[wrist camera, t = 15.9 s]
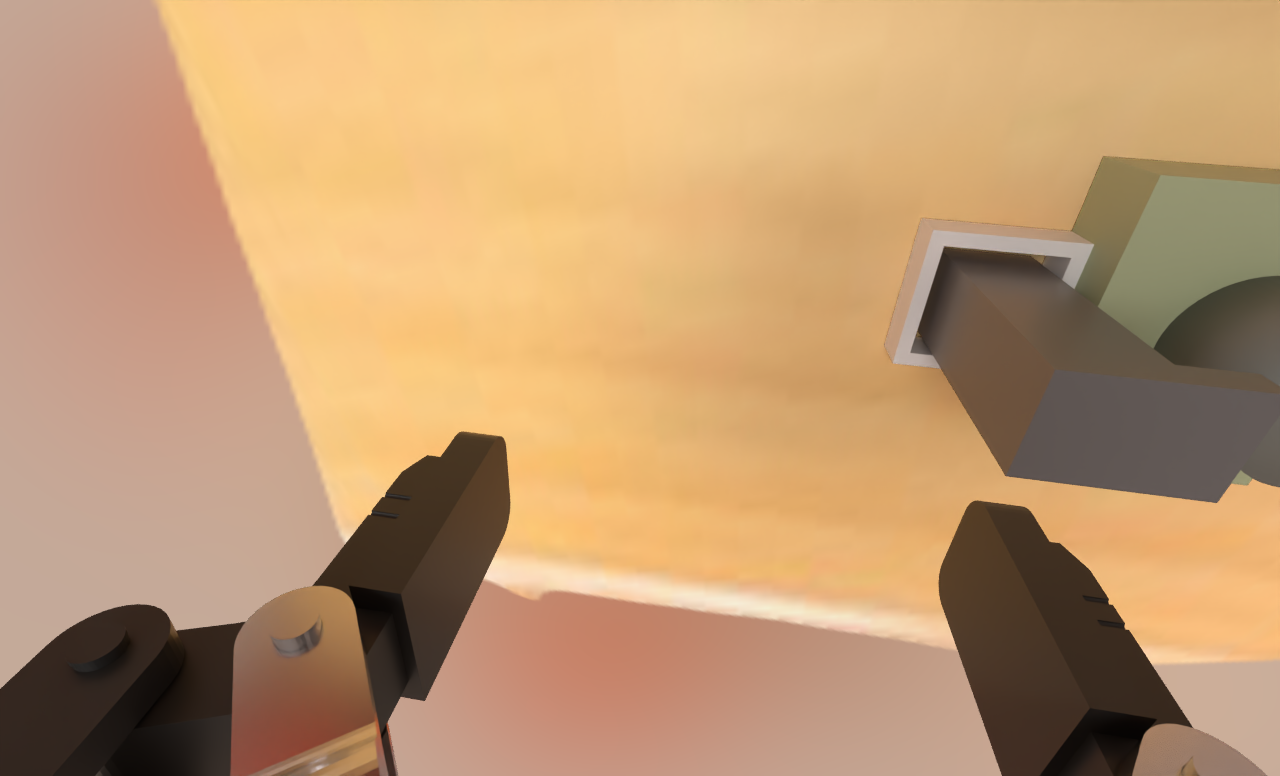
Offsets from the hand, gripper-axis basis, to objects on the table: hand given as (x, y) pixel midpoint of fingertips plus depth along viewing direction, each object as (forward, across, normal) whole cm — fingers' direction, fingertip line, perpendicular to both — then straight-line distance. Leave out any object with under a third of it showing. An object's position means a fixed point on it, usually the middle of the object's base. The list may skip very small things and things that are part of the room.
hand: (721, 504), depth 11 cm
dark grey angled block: (+28, -16, +5) cm, 33 cm away
